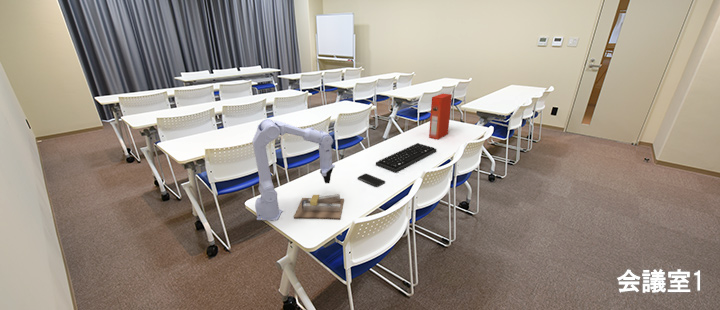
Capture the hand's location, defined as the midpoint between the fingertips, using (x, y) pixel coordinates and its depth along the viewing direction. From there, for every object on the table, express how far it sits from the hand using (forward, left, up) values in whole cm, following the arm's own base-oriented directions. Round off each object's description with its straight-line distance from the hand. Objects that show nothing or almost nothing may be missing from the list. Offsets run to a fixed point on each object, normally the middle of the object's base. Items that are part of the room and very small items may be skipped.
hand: (327, 182), depth 141 cm
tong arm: (-1, -5, -8) cm, 10 cm away
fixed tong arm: (-2, -10, -8) cm, 13 cm away
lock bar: (-5, -10, -5) cm, 12 cm away
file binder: (+73, +97, -10) cm, 122 cm away
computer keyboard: (+44, +52, -10) cm, 69 cm away
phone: (+21, +20, -10) cm, 31 cm away
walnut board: (-3, -9, -9) cm, 13 cm away
